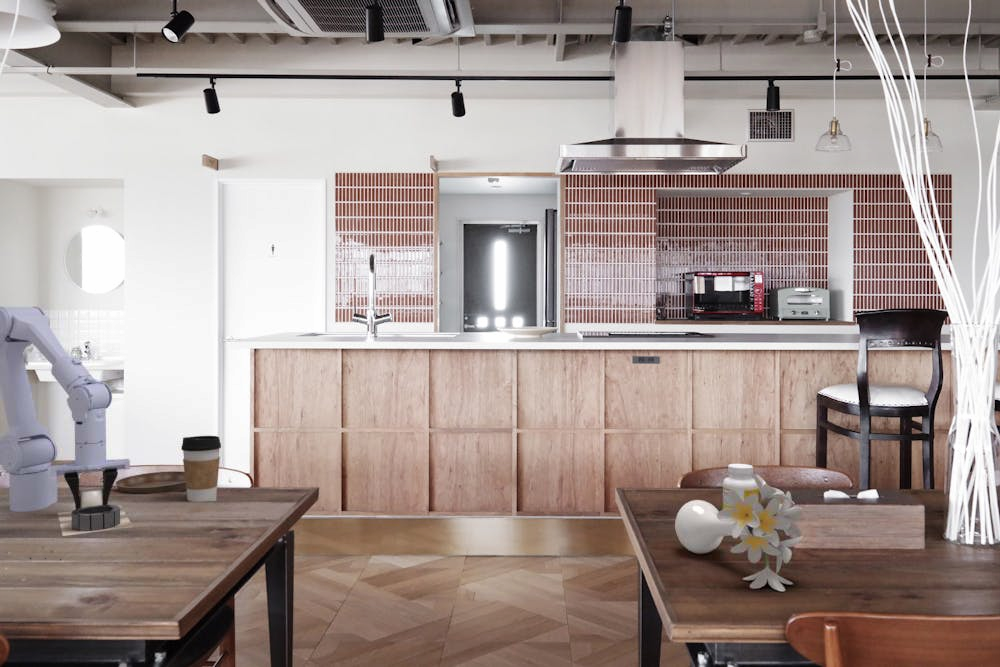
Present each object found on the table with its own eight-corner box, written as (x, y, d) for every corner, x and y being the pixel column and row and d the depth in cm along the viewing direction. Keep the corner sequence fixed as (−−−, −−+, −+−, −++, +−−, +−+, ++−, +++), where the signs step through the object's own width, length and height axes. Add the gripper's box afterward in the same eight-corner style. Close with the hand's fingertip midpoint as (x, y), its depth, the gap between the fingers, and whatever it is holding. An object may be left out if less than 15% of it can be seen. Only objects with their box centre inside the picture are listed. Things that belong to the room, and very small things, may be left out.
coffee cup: (173, 505, 174) (172, 438, 174) (201, 497, 182) (200, 432, 182) (203, 508, 171) (202, 440, 171) (230, 500, 179) (229, 434, 179)
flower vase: (678, 592, 139) (771, 602, 117) (647, 489, 142) (732, 480, 119) (735, 569, 144) (835, 575, 122) (704, 471, 147) (797, 458, 124)
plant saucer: (107, 501, 179) (107, 488, 179) (124, 485, 196) (124, 473, 196) (190, 497, 183) (190, 484, 183) (199, 481, 200) (199, 469, 200)
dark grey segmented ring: (86, 519, 159) (85, 504, 159) (127, 519, 159) (127, 504, 159) (62, 531, 150) (62, 515, 150) (106, 531, 150) (106, 515, 150)
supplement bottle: (760, 528, 155) (760, 464, 155) (756, 537, 149) (756, 470, 149) (725, 525, 158) (726, 461, 158) (720, 533, 152) (720, 467, 152)
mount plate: (57, 517, 164) (57, 512, 164) (120, 509, 170) (120, 505, 170) (62, 541, 147) (62, 535, 147) (133, 531, 153) (133, 526, 153)
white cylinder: (86, 511, 165) (86, 487, 165) (107, 511, 165) (107, 487, 165) (75, 516, 161) (74, 492, 161) (96, 516, 161) (96, 492, 161)
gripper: (51, 447, 155) (52, 516, 156) (131, 441, 163) (132, 506, 163) (49, 442, 161) (50, 508, 162) (127, 436, 169) (128, 499, 169)
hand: (91, 507), depth 163 cm, fingers closed on white cylinder, 4 cm apart
